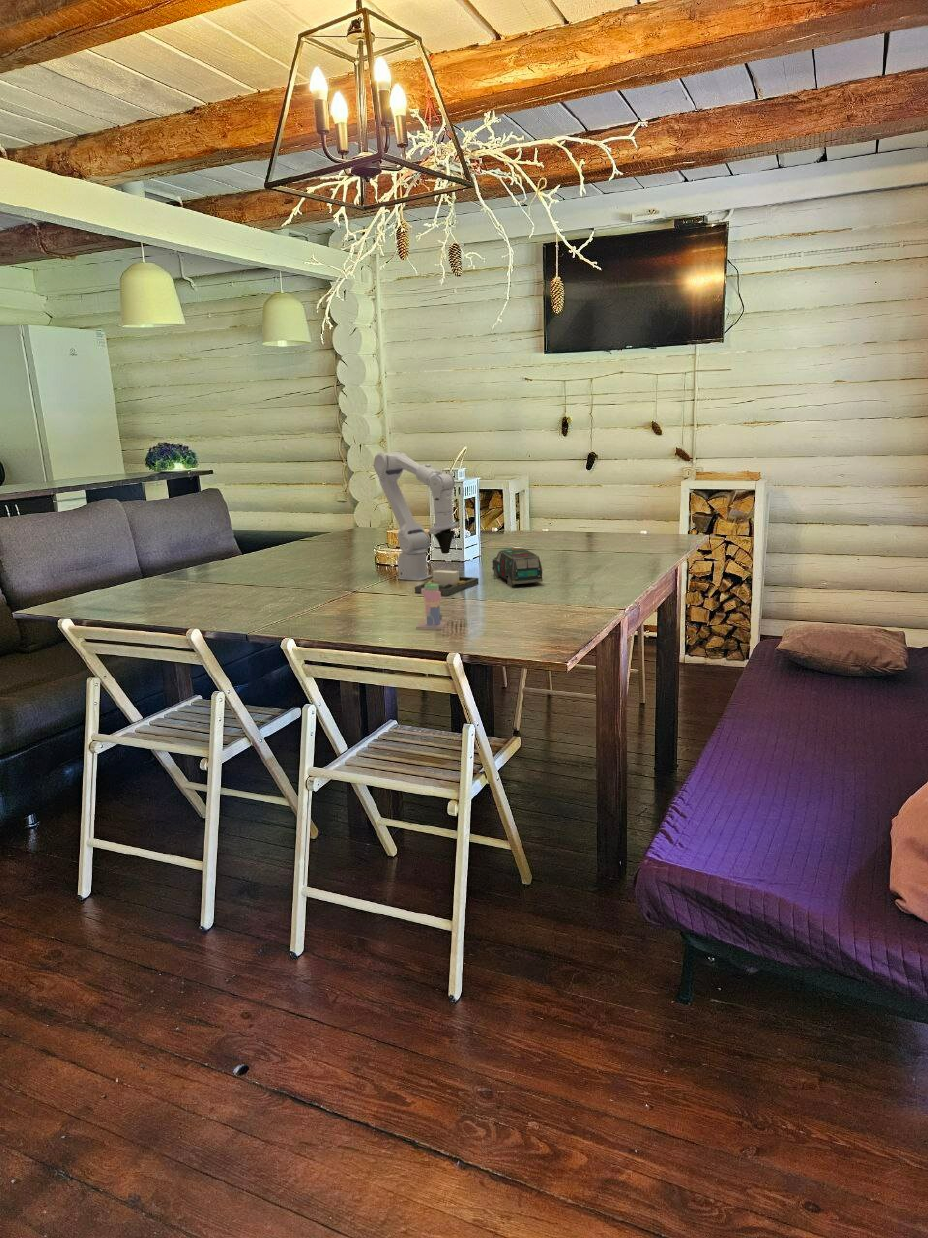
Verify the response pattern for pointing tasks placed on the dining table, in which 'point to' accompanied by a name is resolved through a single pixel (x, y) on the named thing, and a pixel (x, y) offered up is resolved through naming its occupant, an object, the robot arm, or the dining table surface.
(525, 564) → the toy van
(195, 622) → the dining table surface
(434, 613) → the figurine
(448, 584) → the rack
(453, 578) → the tall cream block
